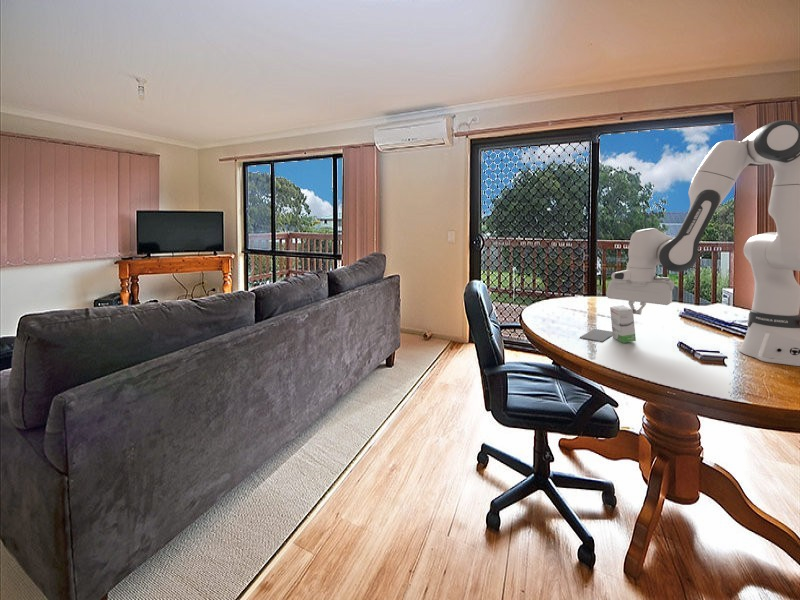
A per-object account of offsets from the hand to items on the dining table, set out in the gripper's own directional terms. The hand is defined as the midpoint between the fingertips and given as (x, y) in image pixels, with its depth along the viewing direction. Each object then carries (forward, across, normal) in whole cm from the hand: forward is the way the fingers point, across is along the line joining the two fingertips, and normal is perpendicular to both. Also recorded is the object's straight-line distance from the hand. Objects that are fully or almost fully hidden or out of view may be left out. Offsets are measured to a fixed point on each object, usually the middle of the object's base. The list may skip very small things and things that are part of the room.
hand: (636, 313), depth 146 cm
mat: (+10, +12, 0) cm, 16 cm away
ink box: (+10, +3, 0) cm, 11 cm away
